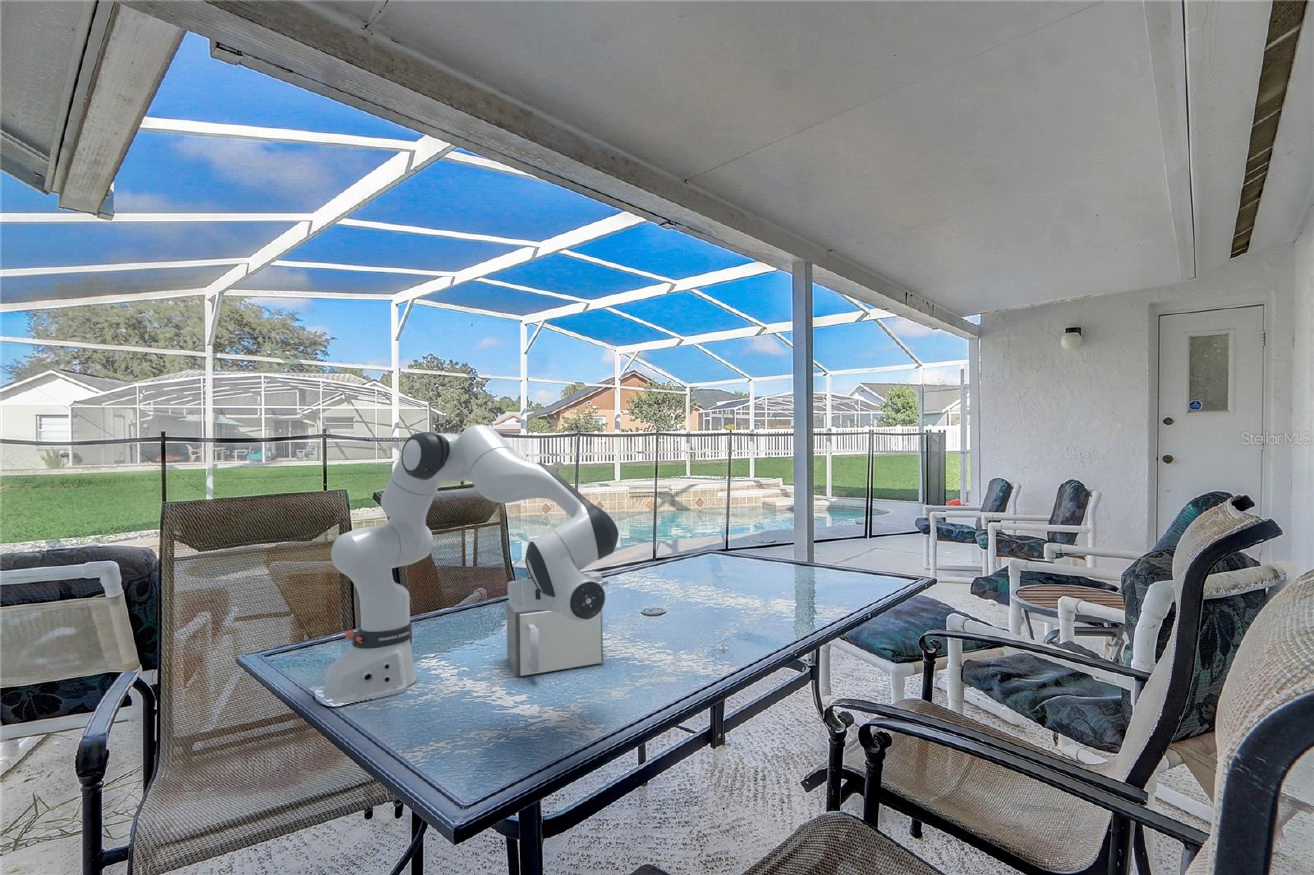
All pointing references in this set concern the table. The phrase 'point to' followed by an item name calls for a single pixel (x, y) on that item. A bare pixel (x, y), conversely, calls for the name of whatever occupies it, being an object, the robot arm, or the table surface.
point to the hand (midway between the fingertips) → (547, 581)
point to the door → (558, 642)
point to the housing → (514, 635)
